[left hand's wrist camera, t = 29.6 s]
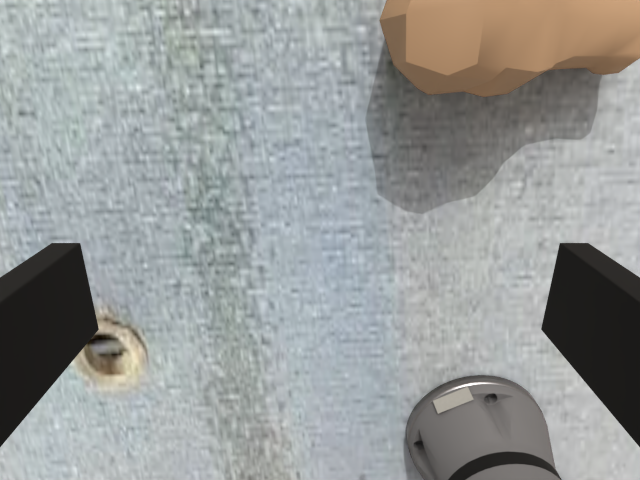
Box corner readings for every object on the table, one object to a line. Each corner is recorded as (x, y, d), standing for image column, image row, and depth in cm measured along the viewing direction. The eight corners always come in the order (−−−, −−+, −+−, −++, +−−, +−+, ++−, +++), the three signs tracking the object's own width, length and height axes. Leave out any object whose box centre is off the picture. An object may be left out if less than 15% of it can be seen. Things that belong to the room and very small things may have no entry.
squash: (369, -50, 34) (408, -119, 25) (606, -29, 36) (715, -84, 28) (363, 99, 36) (397, 83, 27) (586, 108, 39) (683, 96, 30)
